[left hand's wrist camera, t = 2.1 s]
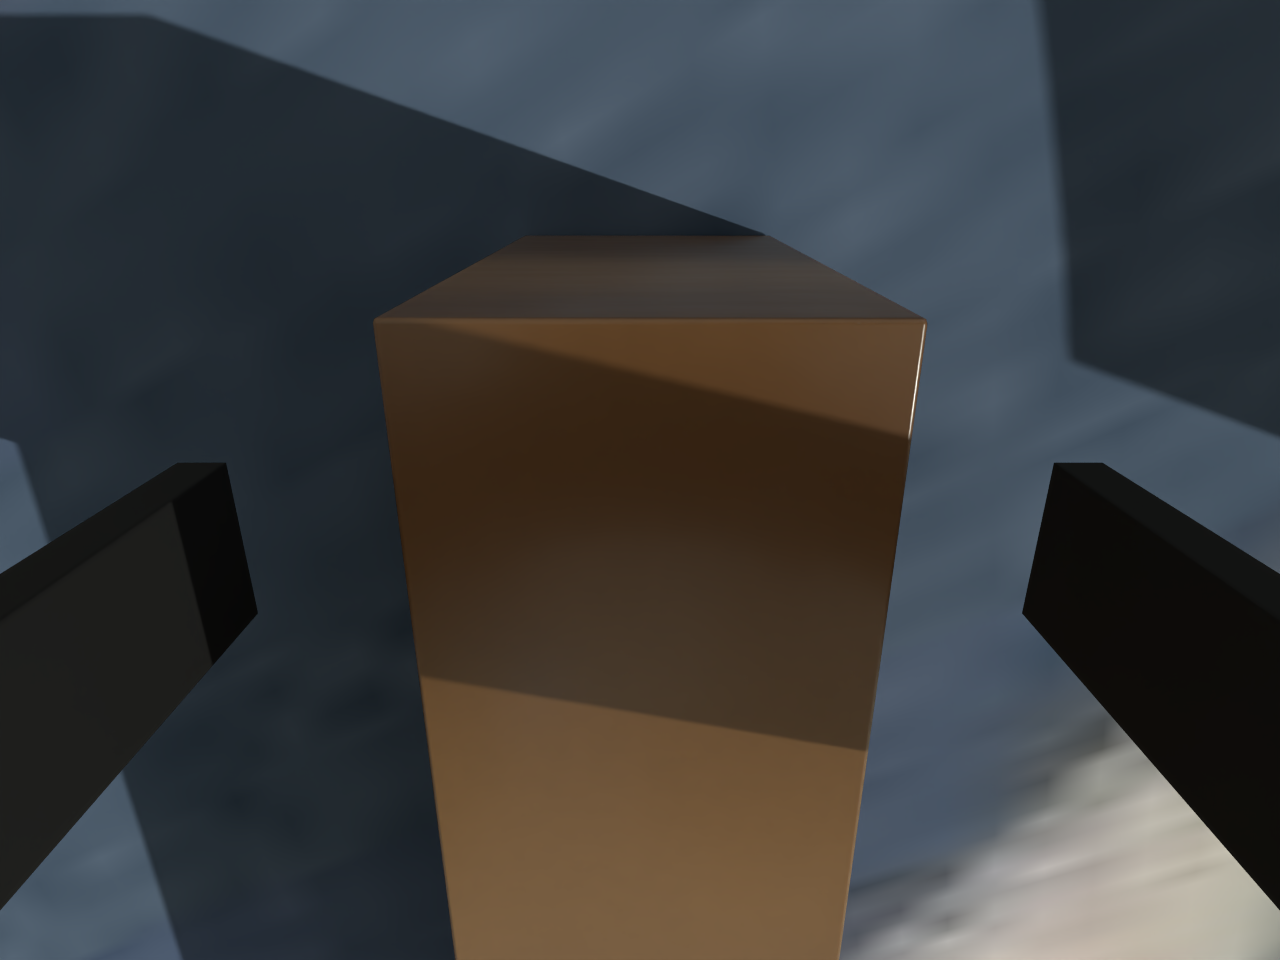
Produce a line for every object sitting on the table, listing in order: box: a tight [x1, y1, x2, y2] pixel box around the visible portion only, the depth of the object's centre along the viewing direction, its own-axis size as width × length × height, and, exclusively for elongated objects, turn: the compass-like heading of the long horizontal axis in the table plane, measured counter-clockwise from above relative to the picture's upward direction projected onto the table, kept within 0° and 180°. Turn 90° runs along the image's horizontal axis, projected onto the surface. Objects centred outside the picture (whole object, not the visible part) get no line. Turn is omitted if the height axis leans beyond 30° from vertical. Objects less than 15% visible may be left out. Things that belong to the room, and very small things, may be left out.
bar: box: [373, 236, 927, 960], centre depth 14 cm, size 23×4×8 cm, turn 0°
